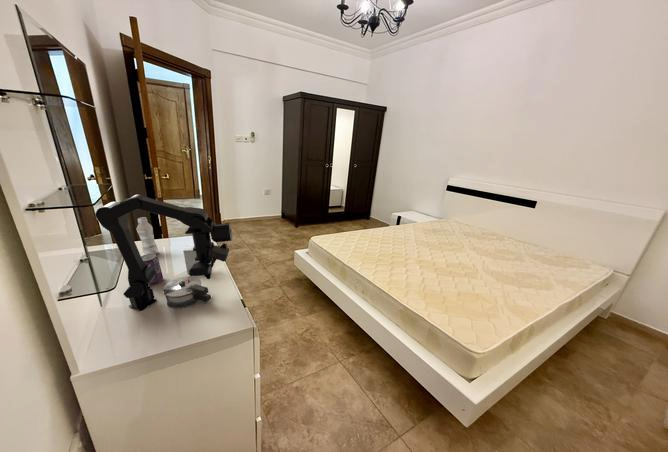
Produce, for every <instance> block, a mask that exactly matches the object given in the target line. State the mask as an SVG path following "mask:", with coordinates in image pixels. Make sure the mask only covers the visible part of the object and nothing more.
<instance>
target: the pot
mask: <svg viewBox="0 0 668 452" xmlns="http://www.w3.org/2000/svg"><path fill="white" fill-rule="evenodd" d="M165 298H166V305H167V307H168V308H169V309H171V310H184V309H188V308H191V307H193V306H195V305H196V304H198V303H199V302H203V303H208V302H209V301H210V300H212V295H211V294H209V293H207V294H205V295H200V294H197V293H192V294H189V295H187V296H183V297H178V298H171V297H167V296H165Z"/></svg>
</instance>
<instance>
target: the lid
mask: <svg viewBox="0 0 668 452" xmlns="http://www.w3.org/2000/svg"><path fill="white" fill-rule="evenodd" d="M201 281H202V280H201V279H200V278H199V276H190V275H187V276H182V277H178V278H176V279H175V278H174V279H173V280H171V281H169V282H168V283H165V284H166V285H164V287H163V289H162V290H163V291H162V292H163V294H164V296H165V297H166V296H167V297H171V298H178V297H183V296H187V295H189V294H192V293H197V294H200V295H205V294H209V287H206V286H203V285H202V282H201Z"/></svg>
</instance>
